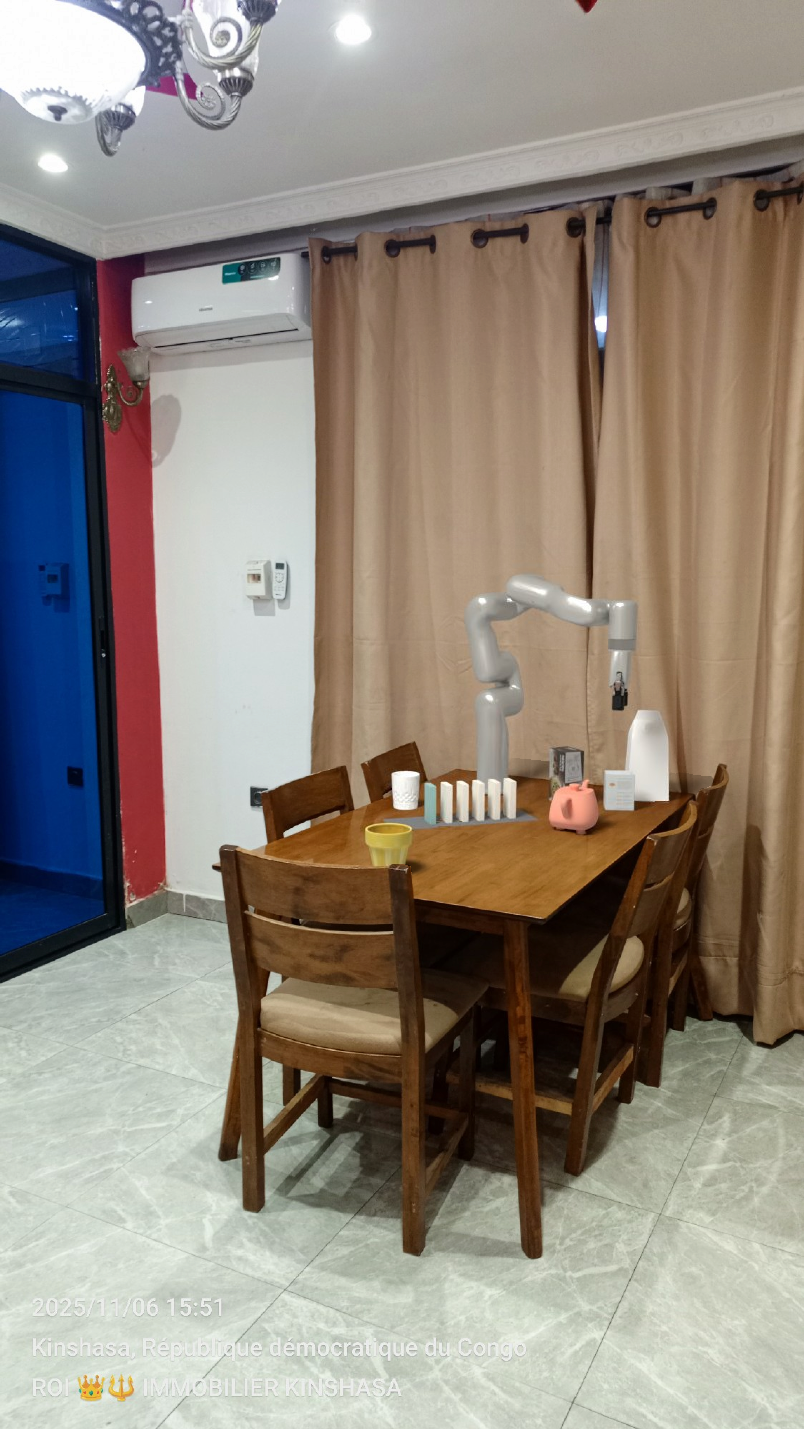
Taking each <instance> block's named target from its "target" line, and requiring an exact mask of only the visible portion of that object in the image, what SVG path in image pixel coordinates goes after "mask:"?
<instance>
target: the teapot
mask: <svg viewBox="0 0 804 1429" xmlns="http://www.w3.org/2000/svg"><path fill="white" fill-rule="evenodd" d="M589 782H590V780H589V779H588V778H587V779H583V783H582V786H581V787H580V784H575V783H572V784H569V786H565V787H562V788H560V789H558V790H557V791H556V792H555V794H554V797H553V800H552V801H551V804H550V808H549V814H548V821H549V822H550V826H552V828H553V827H554V828H555V830H556V831H557V830H558V831H563V830H565V829H567V830H574V831H576V832H575V833H576V835H579V834H585V835H586V834H587V832H586V831H587V830H589V829H591V828H593V827H594V826H595V825H596V823H597V822H598V819H599V806H598V801H597V797H596V793H595V790H594V789H593V788H590V787H589V788H588V786H589Z"/></svg>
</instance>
